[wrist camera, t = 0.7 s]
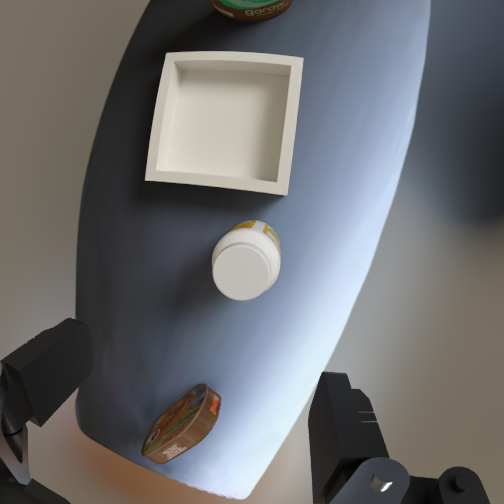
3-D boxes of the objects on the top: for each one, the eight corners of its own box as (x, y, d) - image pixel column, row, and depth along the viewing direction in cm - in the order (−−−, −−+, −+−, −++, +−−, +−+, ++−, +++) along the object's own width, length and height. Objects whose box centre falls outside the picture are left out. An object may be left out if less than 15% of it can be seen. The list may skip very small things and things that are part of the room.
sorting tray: (177, 65, 26) (166, 52, 23) (301, 71, 25) (303, 57, 22) (159, 180, 29) (145, 180, 26) (286, 194, 28) (287, 195, 25)
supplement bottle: (219, 262, 30) (193, 294, 21) (236, 212, 29) (215, 223, 19) (269, 280, 30) (264, 320, 21) (288, 230, 29) (292, 250, 19)
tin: (211, 372, 33) (194, 417, 25) (231, 386, 34) (218, 434, 25) (151, 421, 37) (131, 460, 28) (168, 433, 37) (150, 473, 29)
